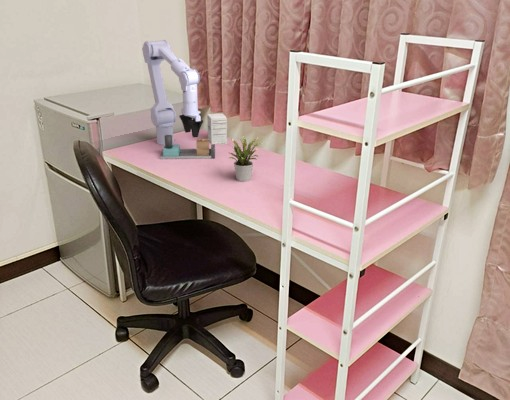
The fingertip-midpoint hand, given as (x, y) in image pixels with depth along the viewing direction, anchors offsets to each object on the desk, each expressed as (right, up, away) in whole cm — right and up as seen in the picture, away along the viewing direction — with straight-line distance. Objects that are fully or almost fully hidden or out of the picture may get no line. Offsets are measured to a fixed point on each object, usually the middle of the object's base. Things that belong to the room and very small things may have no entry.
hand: (191, 134), depth 203 cm
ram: (-8, -8, +3) cm, 12 cm away
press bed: (-2, -9, +4) cm, 10 cm away
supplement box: (+9, -1, +22) cm, 24 cm away
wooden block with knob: (+4, -8, +4) cm, 10 cm away
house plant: (+23, -19, -17) cm, 34 cm away
